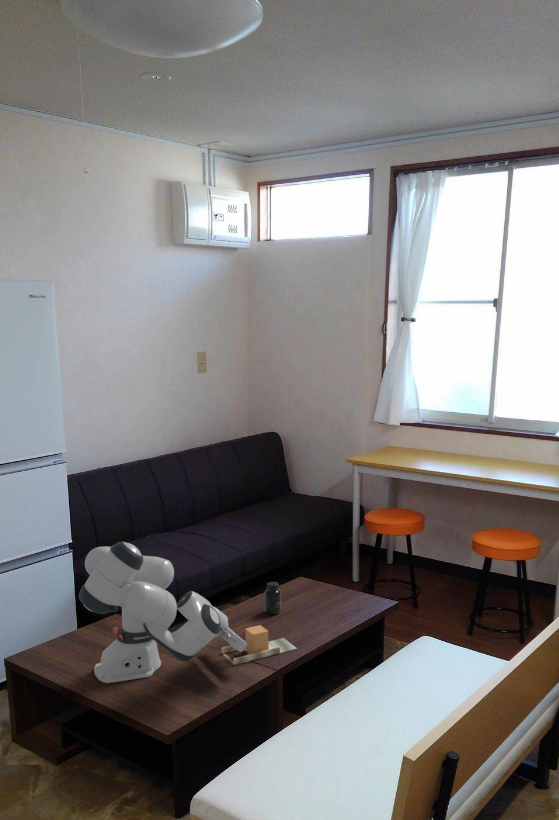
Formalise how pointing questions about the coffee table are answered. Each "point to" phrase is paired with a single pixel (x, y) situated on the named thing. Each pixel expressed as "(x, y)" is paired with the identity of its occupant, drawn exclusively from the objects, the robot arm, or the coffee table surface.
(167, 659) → the coffee table surface
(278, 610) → the supplement bottle
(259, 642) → the orange block
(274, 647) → the chute
